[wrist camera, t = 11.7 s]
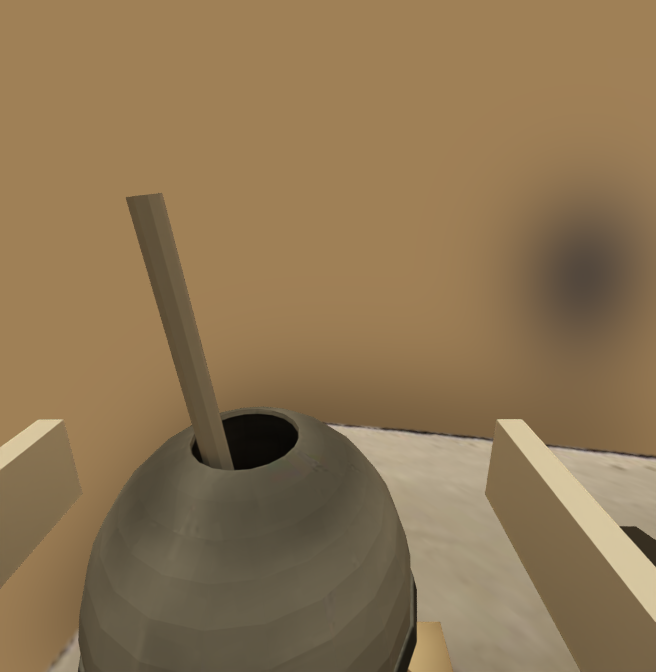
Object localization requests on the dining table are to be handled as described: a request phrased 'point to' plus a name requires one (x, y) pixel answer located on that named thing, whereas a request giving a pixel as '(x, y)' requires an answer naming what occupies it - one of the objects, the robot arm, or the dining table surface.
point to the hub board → (430, 650)
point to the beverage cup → (243, 533)
